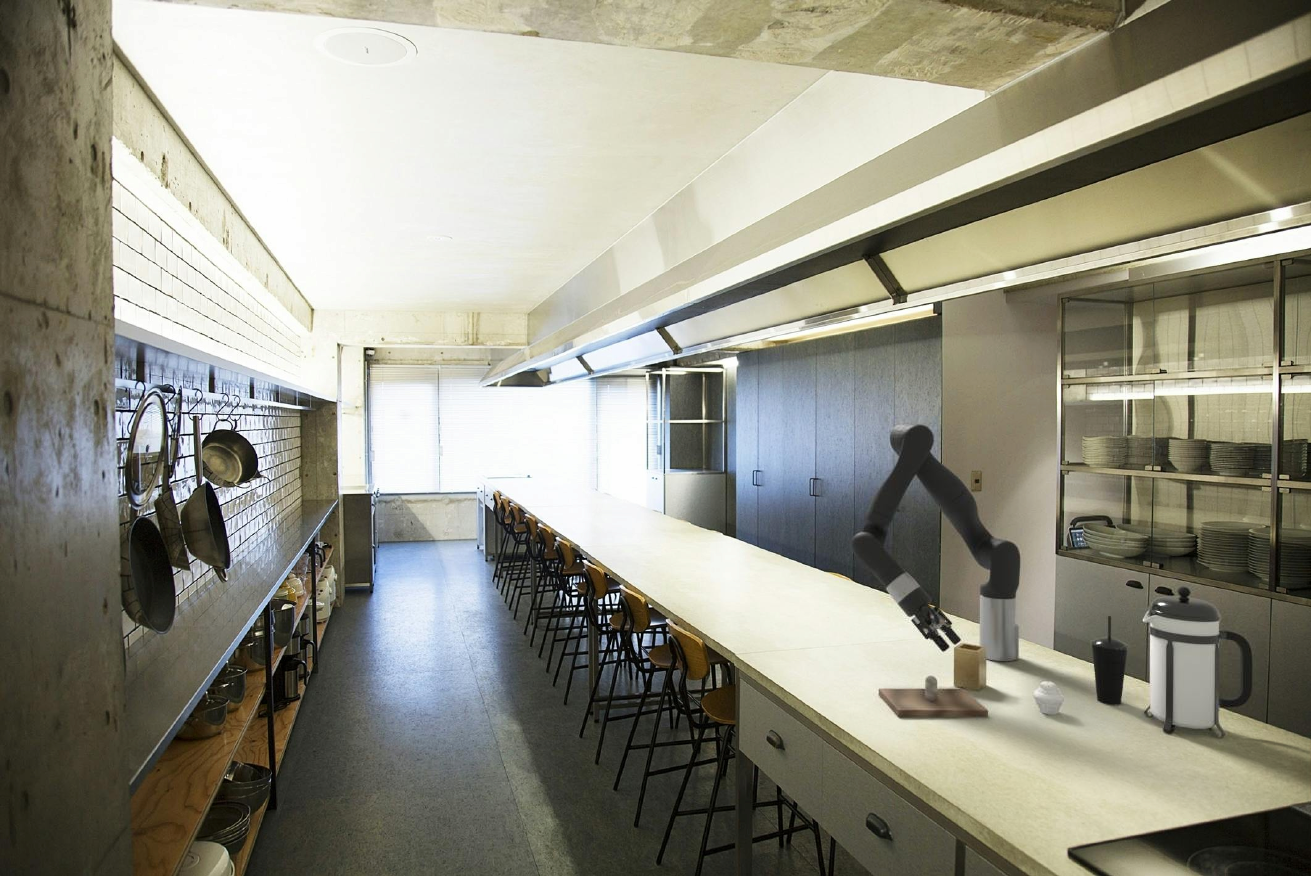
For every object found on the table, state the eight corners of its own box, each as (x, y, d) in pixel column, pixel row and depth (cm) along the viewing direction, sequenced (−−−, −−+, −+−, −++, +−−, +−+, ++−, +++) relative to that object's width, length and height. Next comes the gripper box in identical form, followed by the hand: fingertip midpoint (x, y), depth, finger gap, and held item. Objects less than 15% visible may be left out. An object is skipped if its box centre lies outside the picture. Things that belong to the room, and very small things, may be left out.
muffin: (1026, 709, 170) (1027, 678, 170) (1046, 705, 172) (1046, 675, 172) (1050, 718, 164) (1051, 687, 164) (1070, 715, 166) (1070, 683, 166)
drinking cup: (1123, 697, 177) (1123, 613, 177) (1132, 708, 170) (1132, 621, 170) (1086, 694, 180) (1087, 611, 180) (1094, 704, 173) (1094, 618, 173)
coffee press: (1208, 747, 149) (1209, 597, 149) (1126, 720, 163) (1127, 583, 163) (1253, 732, 157) (1254, 589, 157) (1171, 707, 171) (1172, 577, 171)
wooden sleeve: (961, 679, 190) (961, 642, 190) (986, 684, 186) (986, 646, 186) (953, 685, 185) (953, 647, 185) (978, 691, 182) (979, 652, 182)
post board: (961, 694, 179) (961, 666, 179) (988, 716, 165) (988, 686, 165) (878, 694, 179) (878, 666, 179) (897, 716, 165) (898, 685, 165)
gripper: (908, 589, 189) (954, 643, 181) (928, 581, 200) (972, 631, 192) (887, 607, 192) (931, 660, 185) (908, 598, 203) (951, 648, 196)
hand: (952, 646), depth 189 cm, fingers open, 8 cm apart
